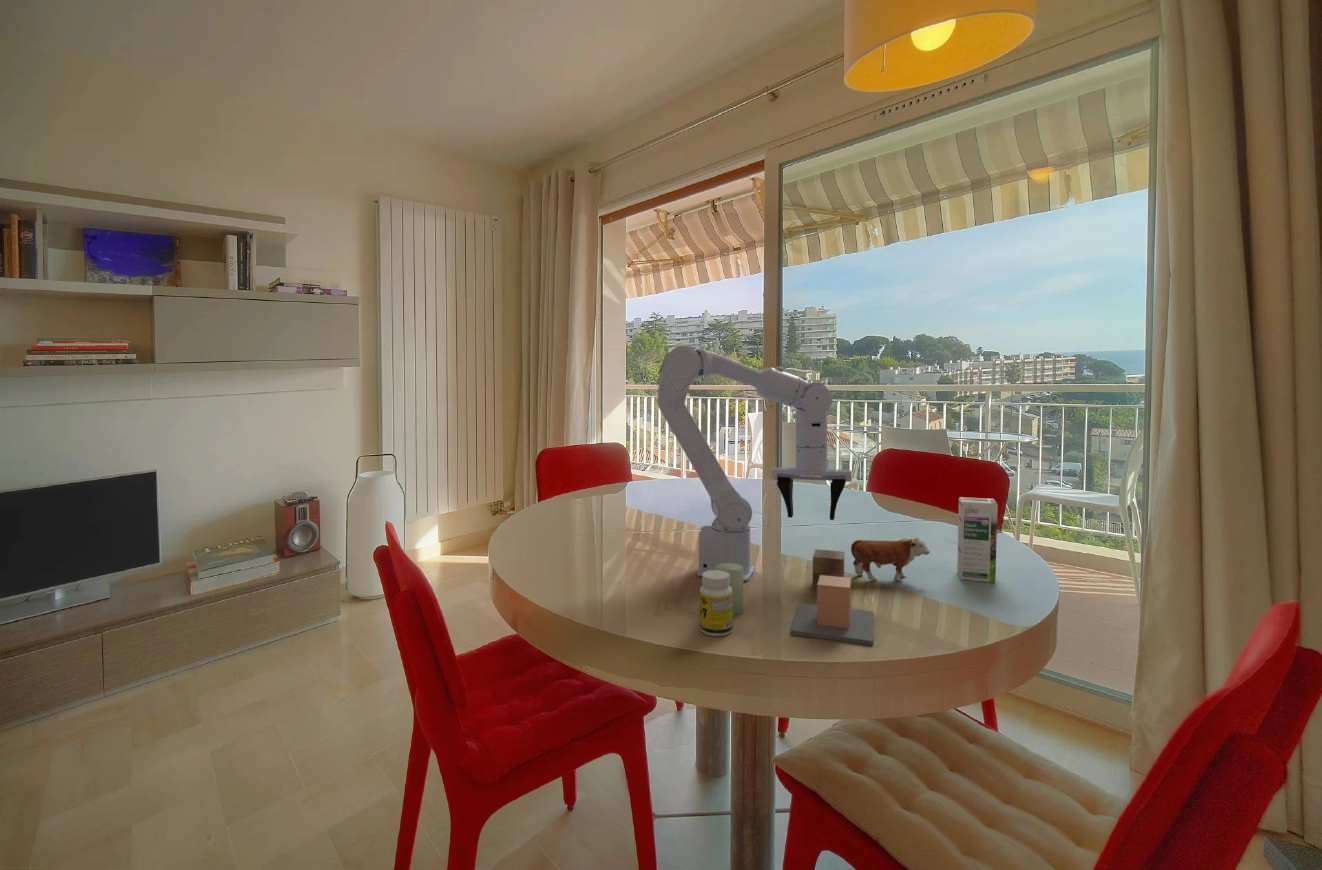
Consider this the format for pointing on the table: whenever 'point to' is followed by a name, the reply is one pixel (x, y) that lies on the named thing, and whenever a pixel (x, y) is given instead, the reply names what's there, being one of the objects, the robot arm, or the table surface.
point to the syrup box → (977, 539)
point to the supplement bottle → (716, 603)
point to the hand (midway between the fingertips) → (811, 517)
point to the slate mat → (855, 633)
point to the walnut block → (827, 565)
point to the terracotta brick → (833, 601)
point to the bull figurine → (886, 554)
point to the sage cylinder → (734, 585)
